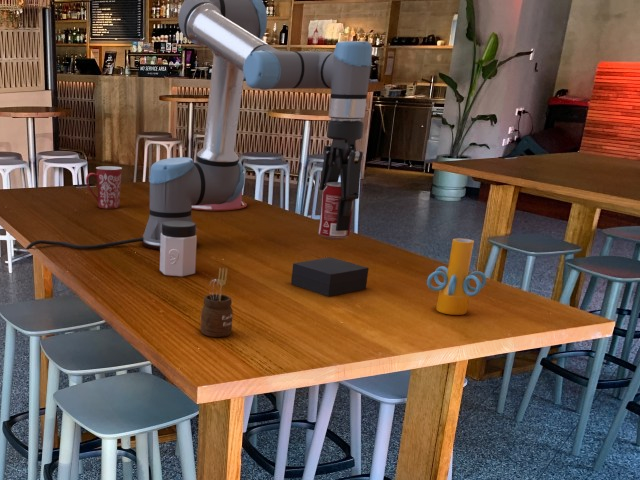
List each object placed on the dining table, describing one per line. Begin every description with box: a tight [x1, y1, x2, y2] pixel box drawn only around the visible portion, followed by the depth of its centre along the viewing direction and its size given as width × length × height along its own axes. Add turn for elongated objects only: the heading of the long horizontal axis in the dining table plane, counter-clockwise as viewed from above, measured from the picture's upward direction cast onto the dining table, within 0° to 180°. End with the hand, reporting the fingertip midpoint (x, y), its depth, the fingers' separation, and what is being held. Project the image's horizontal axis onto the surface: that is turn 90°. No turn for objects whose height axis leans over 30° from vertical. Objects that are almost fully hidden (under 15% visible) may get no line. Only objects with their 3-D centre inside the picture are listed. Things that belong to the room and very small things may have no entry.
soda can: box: [318, 181, 354, 241], centre depth 177 cm, size 7×7×12 cm
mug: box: [85, 165, 123, 210], centre depth 275 cm, size 13×9×14 cm
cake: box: [191, 191, 248, 212], centre depth 282 cm, size 25×25×11 cm
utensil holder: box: [200, 267, 234, 338], centre depth 149 cm, size 6×6×12 cm
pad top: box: [291, 256, 369, 285], centre depth 182 cm, size 12×12×2 cm
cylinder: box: [426, 237, 487, 316], centre depth 163 cm, size 12×10×15 cm
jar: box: [159, 220, 198, 277], centre depth 192 cm, size 9×8×12 cm
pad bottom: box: [290, 273, 368, 297], centre depth 183 cm, size 12×12×2 cm
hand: (334, 226), depth 178 cm, fingers closed on soda can, 7 cm apart
